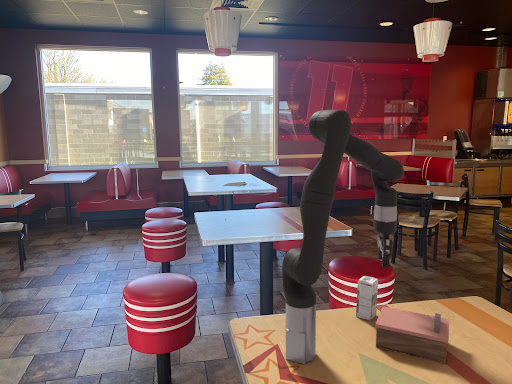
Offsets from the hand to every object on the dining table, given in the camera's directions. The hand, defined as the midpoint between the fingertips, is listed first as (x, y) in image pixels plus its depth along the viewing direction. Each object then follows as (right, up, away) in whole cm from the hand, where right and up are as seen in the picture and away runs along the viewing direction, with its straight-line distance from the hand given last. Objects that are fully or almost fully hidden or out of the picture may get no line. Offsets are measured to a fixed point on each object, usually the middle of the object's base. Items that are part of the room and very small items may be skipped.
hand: (383, 263), depth 134 cm
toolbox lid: (+5, -17, -12) cm, 22 cm away
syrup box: (-4, -21, +8) cm, 23 cm away
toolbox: (+5, -24, -11) cm, 27 cm away
